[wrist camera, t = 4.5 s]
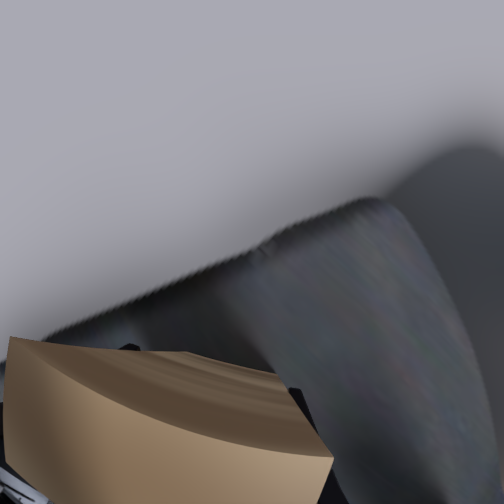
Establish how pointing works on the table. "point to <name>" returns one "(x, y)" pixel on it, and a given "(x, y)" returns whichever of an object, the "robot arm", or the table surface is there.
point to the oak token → (155, 429)
